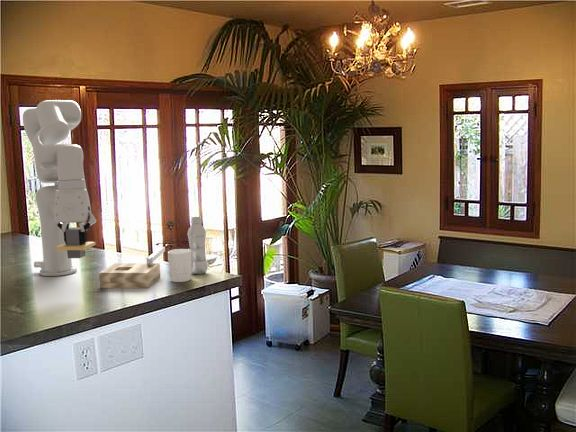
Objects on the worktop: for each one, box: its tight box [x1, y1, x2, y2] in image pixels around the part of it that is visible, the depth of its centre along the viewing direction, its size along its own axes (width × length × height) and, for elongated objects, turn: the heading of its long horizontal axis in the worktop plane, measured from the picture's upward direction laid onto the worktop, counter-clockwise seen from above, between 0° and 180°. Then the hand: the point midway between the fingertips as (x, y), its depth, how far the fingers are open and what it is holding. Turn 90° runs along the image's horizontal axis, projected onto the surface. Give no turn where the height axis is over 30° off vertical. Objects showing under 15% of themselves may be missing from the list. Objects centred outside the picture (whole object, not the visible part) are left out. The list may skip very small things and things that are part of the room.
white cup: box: [167, 248, 192, 283], centre depth 209 cm, size 8×8×10 cm
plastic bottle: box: [187, 216, 208, 275], centre depth 217 cm, size 6×7×20 cm
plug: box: [55, 227, 97, 259], centre depth 192 cm, size 9×9×9 cm
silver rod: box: [146, 246, 166, 266], centre depth 218 cm, size 21×2×3 cm, turn 179°
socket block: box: [98, 262, 161, 289], centre depth 207 cm, size 16×14×5 cm
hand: (75, 243), depth 192 cm, fingers closed on plug, 4 cm apart
